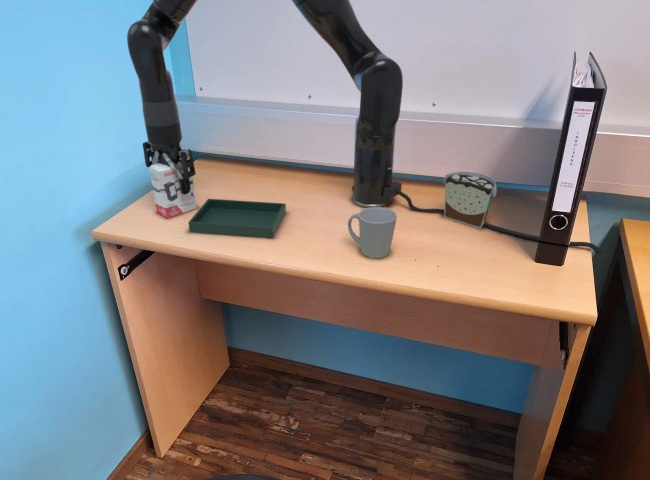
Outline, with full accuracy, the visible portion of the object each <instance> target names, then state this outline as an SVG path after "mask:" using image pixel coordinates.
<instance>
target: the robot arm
mask: <svg viewBox="0 0 650 480" xmlns="http://www.w3.org/2000/svg"><path fill="white" fill-rule="evenodd" d="M197 2H198V0H152V2H151V4H150V5H149V7H148V9H147V10H146V12H145V13H144V15H143V16H142V17H141V18H140V19H138V20H137V21H135V22H133V23H131V25H130V26H129V28H128V30H127V33H126V42H127V43H126V44H127V49H128V53H129V57H130V60H131V63H132V66H133V68H134V72H135V73H136V76H137V79H138V86H139V92H140V97H141V104H142V115H143V121H144V126H145V132H146V137H147V141H143V143H142V151H143V156H144V157H143V158H144V162H145V166H146V168H149V167H150V166H151V165H154V164H157V163H160V162H161V164H164V165H167V166H169V167H171V168H172V170H173V171H174V172H176V173H177V175H178V176H179V178H180V179H179V181H180V188H181V193H182V194H187V193H189V192H190V190H191V187H190V180H189V177H192V178H193V177H194V176H196V168H195V163H194V158H193V152H192V150H191V149H189V148H188V149H185V150H183V149H182V147H181V141H182V140H183V134H182V127H181V121H180V114H179V108H178V104H177V101H176V95H175V88H174V81H173V77H172V73H171V72H170V71H169V69H167V65H166V60H165V56H164V51H165V50H166V49H167V48H168V46H169V45H170V44H171V42H172V40H173V38H174V37H175V35H176V33H177V32H178V30H179V28H180V26H181V24H182V22H183V21H184V20H185V18H187V16H188V15H189V14H190V12H191V11H192V9H193V7H194V6H195V5H196V4H197ZM291 2H292V4H293V5H294V7H296V9H297V10H298V11H299V13H300V14H301V16H302V17H303V18H304V20H305V21H306V22H307V23H308V24H309V25H310V27H311V28H312V29H313V30H314V31H315V32H316V33H317V35H318V36H319V37H320V38H321V39H322V40H323V41H324V42H325V43H326V44H327V45H328V46H329V47H330V48H331V50H333V52H334V53H335V54H336V56H338V58H339V59H340V61H341V63H342V65H343V66H344V68H345V69H346V71H347V73H348V74H349V76H350V79H351V80H352V82H353V84H354V85H355V87H356V89H357V90H358V91H359V92H360V97H359V113H358V115H357V117H356V119H355V126H354V156H353V182H352V183H353V185H352V187H351V192H352V202H353V203H354V204H356V205H357V206H360V207H364V208H370V207H390V206H391V201H392V200H393V199H394V198H395V197H397V196H399V197H402V198H403V199H405V201H406V202H407V205H408V207H409V209H410V210H412V211H414V212H419V213H427V214H429V213H430V214H432V213H437V214H443V215H444V209H443V208H420V207H417V206H415V205H413V201H412V199H411V197H410V196H409V195H407V194H406V193H405V192H403V191H402V185H403V182H399V181H396V180H395V181H394V180H393V175H394V163H395V162H394V161H395V160H394V158H395V157H394V156H395V143H396V141H395V140H396V128H397V124H398V122H399V118H400V114H401V106H402V97H403V87H404V86H403V85H404V77H403V76H404V75H403V71H402V69H401V66H400V65H399V64H398V62H396V61H395V60H394V59H393V58H390V56H387V55H386V54H385V53H383V52H382V51H381V50H380V49H379V47H377V45H376V44H375V42H373V41H372V39H371V38H370V37H369V35H368V34H366V33H367V32H365V30H364V28H363V27H362V26H361V24H360V22H359V20H358V17H357V15H356V12H355V10H354V8H353V6H352V3H351V1H350V0H291ZM150 158H151V159H150ZM179 162H180V165H178V166H177V164H178V163H179ZM188 167H189V168H190V171H188ZM180 169H182V170H183V173H182V172H181V170H180ZM483 228H487V229H490V230H494V231H497V232H500V233H502V234H503V233H504V234H507V235H511V236H515V237H518V238H522V239H528V240H532V241H536V242H539V241H538V240H539V237H540V236H538V235H532V234H528V233H525V232H519V231H517V230H512V229H508V228H504V227H501V226H498V225H495V224H491V223H488V222H486V221H485V223H484V225H483ZM568 247H585V248H589V249H591V250H593V251H594V252H595V253H596V254H598V255H602V254H603V252H602V251H601V249H600V248H599V247H598V246H597V245H596V244H594V243H592V242H589V241H570V244H569V246H568Z"/></svg>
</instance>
